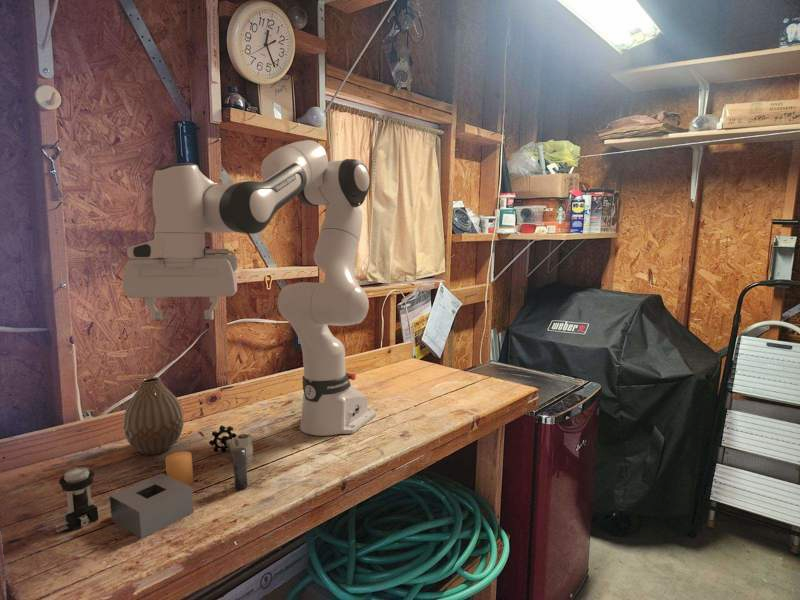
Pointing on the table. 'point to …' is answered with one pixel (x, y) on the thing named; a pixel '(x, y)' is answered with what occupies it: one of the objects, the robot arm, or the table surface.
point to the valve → (233, 442)
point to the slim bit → (240, 468)
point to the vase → (153, 418)
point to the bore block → (151, 505)
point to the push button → (78, 498)
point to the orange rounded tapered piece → (180, 467)
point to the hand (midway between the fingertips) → (183, 320)
